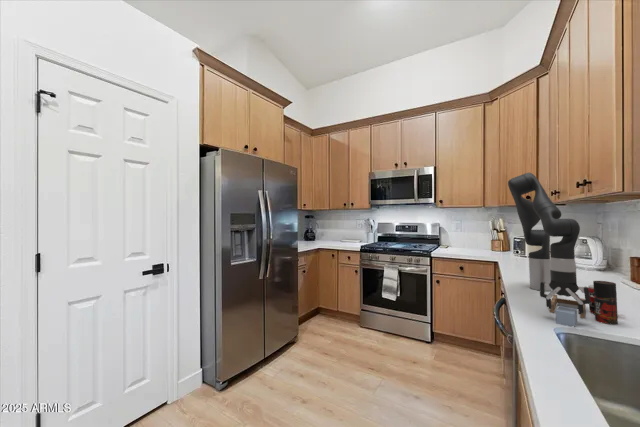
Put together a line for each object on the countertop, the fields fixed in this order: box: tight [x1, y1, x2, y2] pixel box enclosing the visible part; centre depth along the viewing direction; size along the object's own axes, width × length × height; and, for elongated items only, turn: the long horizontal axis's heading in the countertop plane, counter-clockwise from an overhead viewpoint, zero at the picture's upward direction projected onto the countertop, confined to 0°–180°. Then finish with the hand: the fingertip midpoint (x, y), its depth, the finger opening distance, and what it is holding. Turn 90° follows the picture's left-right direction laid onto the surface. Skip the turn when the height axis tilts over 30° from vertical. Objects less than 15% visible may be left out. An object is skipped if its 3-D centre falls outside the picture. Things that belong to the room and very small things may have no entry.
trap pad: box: [557, 303, 578, 310], centre depth 118 cm, size 5×7×1 cm
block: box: [555, 306, 578, 328], centre depth 101 cm, size 8×5×5 cm, turn 130°
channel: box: [549, 294, 586, 319], centre depth 114 cm, size 19×10×4 cm, turn 134°
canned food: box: [587, 284, 617, 315], centre depth 109 cm, size 8×8×11 cm
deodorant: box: [592, 280, 619, 326], centre depth 101 cm, size 6×6×15 cm
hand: (564, 311), depth 102 cm, fingers open, 8 cm apart
